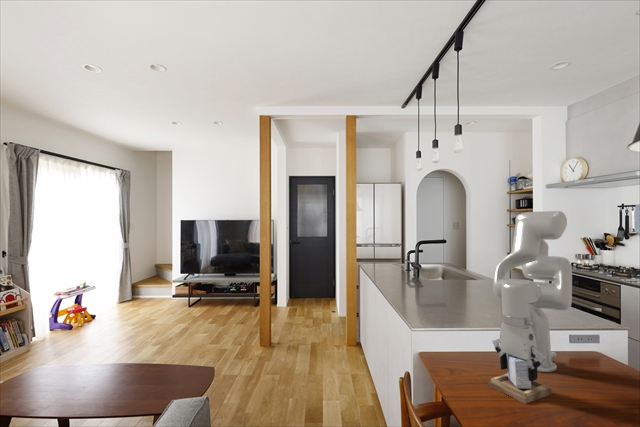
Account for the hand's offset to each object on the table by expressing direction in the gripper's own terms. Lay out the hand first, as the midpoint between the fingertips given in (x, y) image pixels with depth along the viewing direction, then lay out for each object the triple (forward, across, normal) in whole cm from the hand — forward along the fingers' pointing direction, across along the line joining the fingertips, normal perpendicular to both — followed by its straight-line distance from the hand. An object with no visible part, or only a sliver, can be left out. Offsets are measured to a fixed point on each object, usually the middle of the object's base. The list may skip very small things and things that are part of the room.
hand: (518, 374), depth 107 cm
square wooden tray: (+5, 0, 0) cm, 5 cm away
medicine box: (+3, 0, 0) cm, 3 cm away
